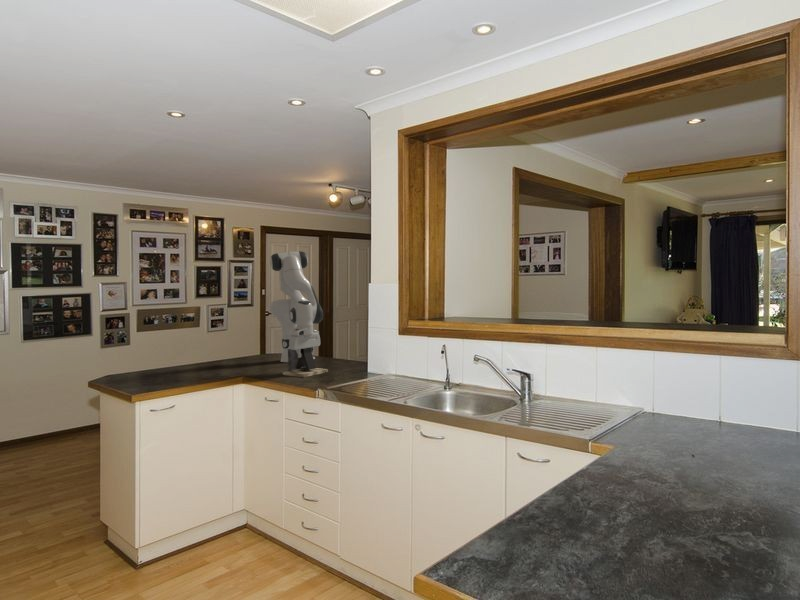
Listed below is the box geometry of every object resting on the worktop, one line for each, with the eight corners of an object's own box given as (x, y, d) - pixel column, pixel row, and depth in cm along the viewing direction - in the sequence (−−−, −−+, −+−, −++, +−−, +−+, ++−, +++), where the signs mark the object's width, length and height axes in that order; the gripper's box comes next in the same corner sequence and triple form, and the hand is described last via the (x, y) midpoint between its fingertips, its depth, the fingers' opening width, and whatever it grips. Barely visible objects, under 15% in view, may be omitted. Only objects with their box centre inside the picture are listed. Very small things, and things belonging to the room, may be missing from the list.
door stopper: (316, 368, 289) (315, 346, 288) (308, 370, 283) (308, 347, 283) (303, 367, 293) (303, 345, 293) (296, 368, 288) (295, 346, 288)
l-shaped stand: (306, 369, 301) (306, 345, 300) (327, 371, 291) (327, 347, 291) (282, 374, 286) (282, 349, 285) (304, 377, 277) (303, 351, 276)
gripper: (314, 328, 298) (315, 353, 298) (287, 332, 281) (287, 358, 282) (322, 329, 294) (323, 354, 295) (295, 333, 278) (296, 359, 278)
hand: (305, 356), depth 288 cm, fingers open, 7 cm apart
